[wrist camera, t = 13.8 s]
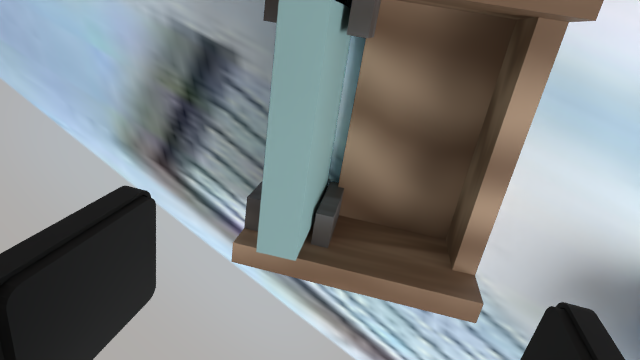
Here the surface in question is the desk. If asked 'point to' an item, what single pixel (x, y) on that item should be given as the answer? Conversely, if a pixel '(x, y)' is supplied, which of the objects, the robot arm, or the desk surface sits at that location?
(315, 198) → the door panel
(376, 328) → the desk surface
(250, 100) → the desk surface
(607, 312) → the desk surface
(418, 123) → the cabinet
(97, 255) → the robot arm
